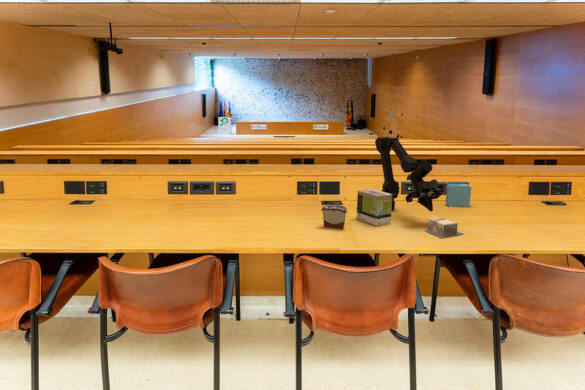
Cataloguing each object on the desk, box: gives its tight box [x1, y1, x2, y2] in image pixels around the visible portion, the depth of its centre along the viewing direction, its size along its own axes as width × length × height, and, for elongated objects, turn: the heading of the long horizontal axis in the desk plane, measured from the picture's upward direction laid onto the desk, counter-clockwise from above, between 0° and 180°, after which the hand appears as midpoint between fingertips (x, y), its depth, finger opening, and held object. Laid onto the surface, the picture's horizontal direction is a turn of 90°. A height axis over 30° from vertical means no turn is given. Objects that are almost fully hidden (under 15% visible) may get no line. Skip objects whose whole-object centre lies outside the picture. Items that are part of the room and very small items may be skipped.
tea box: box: [356, 188, 393, 227], centre depth 220 cm, size 15×10×15 cm, turn 31°
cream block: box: [427, 216, 459, 236], centre depth 205 cm, size 5×7×11 cm
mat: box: [423, 229, 464, 239], centre depth 205 cm, size 11×13×1 cm
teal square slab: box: [445, 183, 472, 208], centre depth 249 cm, size 12×4×12 cm, turn 86°
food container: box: [321, 204, 348, 230], centre depth 212 cm, size 12×6×10 cm, turn 71°
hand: (431, 210), depth 211 cm, fingers closed
